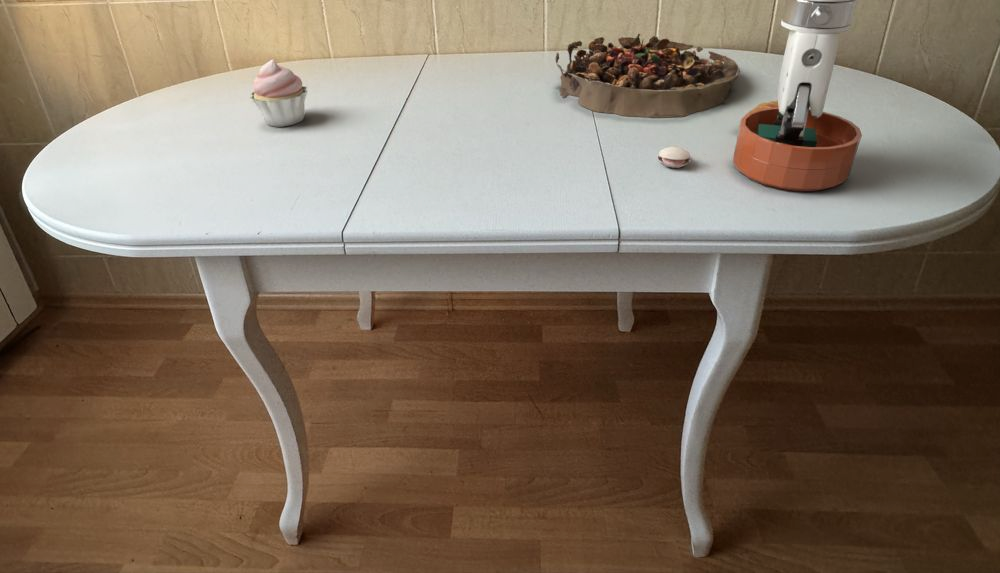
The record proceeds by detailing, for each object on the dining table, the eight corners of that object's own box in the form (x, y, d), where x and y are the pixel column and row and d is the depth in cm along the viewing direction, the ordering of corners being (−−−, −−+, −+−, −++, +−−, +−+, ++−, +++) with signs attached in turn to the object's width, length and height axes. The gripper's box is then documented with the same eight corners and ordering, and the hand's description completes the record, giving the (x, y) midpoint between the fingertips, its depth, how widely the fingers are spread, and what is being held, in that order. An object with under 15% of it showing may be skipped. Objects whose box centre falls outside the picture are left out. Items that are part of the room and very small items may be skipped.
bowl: (841, 153, 87) (854, 111, 84) (853, 199, 76) (868, 154, 73) (733, 143, 91) (741, 103, 88) (730, 186, 80) (739, 142, 77)
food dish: (580, 56, 134) (582, 17, 129) (740, 71, 124) (749, 30, 119) (526, 104, 107) (527, 57, 102) (726, 128, 97) (737, 77, 92)
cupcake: (321, 122, 103) (308, 61, 98) (264, 135, 100) (247, 72, 94) (305, 107, 110) (292, 48, 104) (251, 118, 106) (235, 58, 100)
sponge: (807, 156, 84) (815, 128, 82) (809, 170, 81) (817, 141, 79) (752, 151, 86) (759, 123, 84) (752, 164, 83) (759, 136, 81)
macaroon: (656, 169, 85) (658, 152, 84) (658, 154, 89) (660, 138, 88) (688, 172, 84) (691, 155, 83) (689, 157, 88) (692, 140, 86)
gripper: (862, 32, 65) (816, 189, 76) (845, -1, 78) (807, 137, 89) (786, 29, 67) (751, 182, 78) (781, -3, 80) (752, 132, 91)
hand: (781, 156), depth 83 cm, fingers closed on sponge, 4 cm apart
